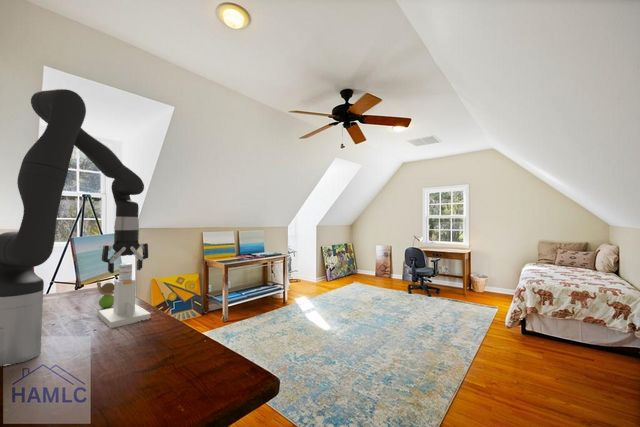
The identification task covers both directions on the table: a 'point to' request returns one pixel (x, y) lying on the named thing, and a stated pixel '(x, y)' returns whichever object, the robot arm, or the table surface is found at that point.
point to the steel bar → (125, 272)
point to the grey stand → (123, 306)
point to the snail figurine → (106, 294)
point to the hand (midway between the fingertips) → (125, 271)
